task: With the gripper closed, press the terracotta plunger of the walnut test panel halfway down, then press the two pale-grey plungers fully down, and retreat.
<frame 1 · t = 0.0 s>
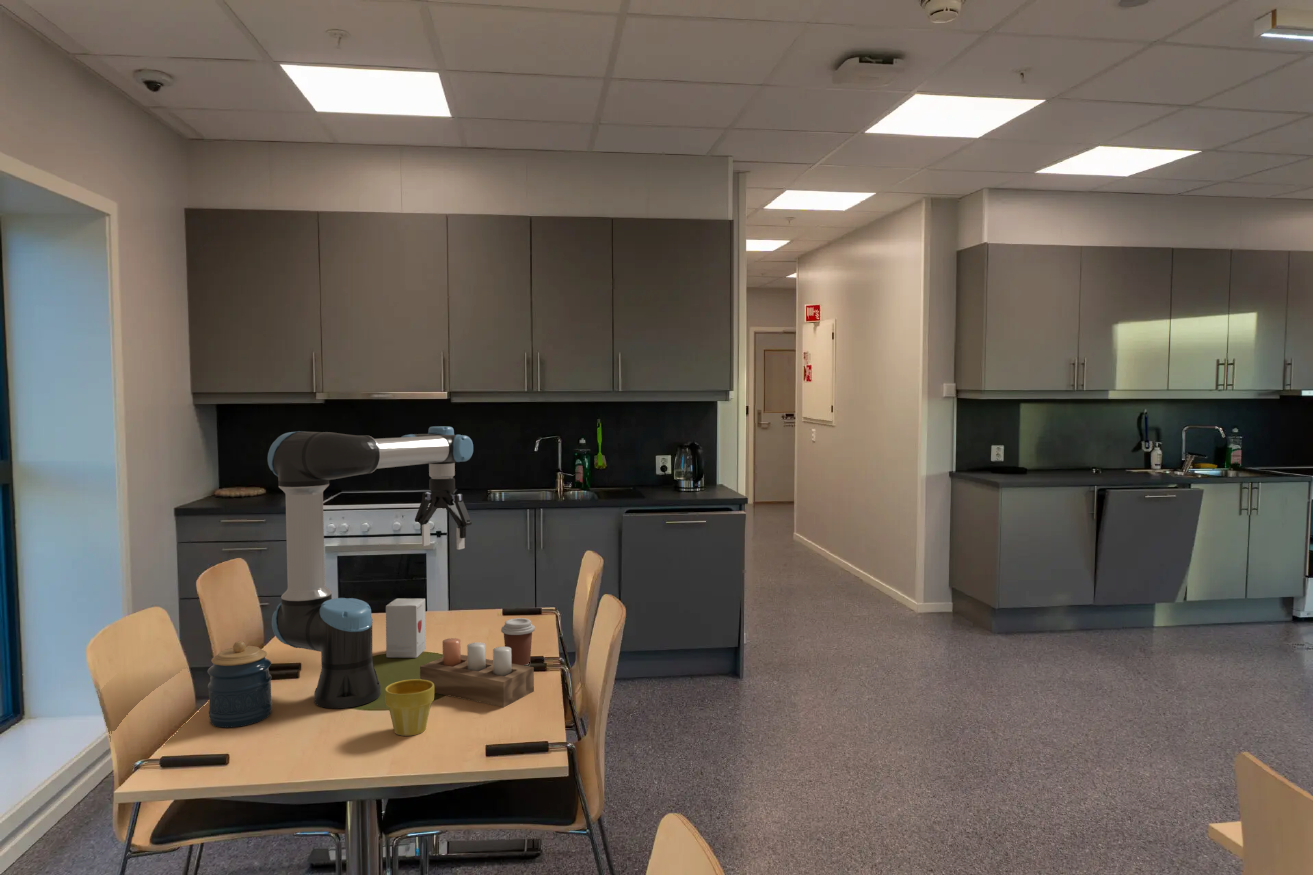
hand: (443, 547, 248), 28 cm above the table, fingers open, 13 cm apart
coffee cup: (518, 665, 224), on the table
plant pot: (410, 730, 179), on the table
supplement box: (406, 653, 234), on the table
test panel: (476, 690, 204), on the table
canister: (241, 718, 187), on the table
grey plug mid: (476, 658, 203), point 8 cm above the table, slide at 0.0 cm
grey plug far: (502, 663, 200), point 8 cm above the table, slide at 0.0 cm
terracotta plug: (451, 654, 207), point 8 cm above the table, slide at 0.0 cm
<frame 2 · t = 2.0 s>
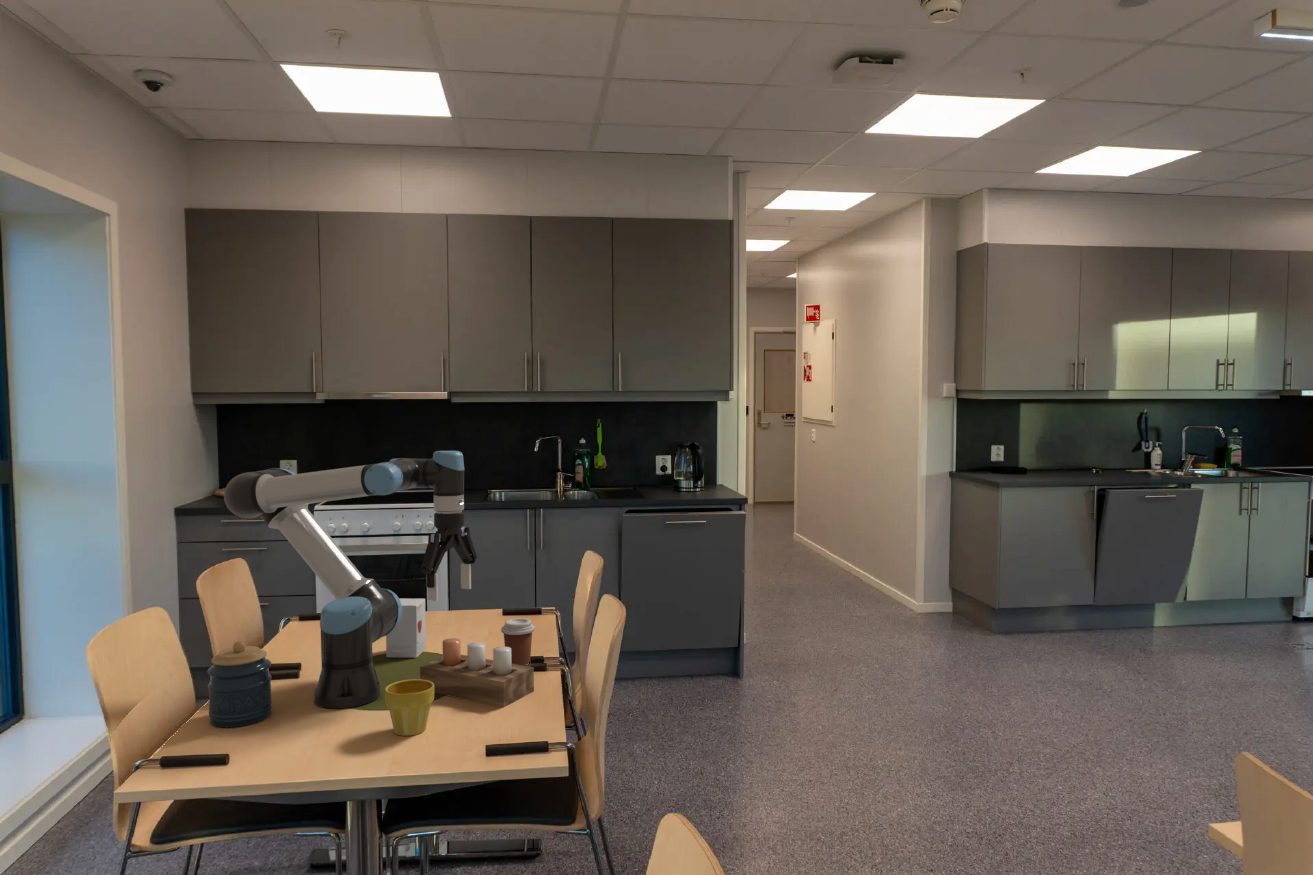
hand: (450, 594, 209), 23 cm above the table, fingers open, 13 cm apart
nothing on the table moved.
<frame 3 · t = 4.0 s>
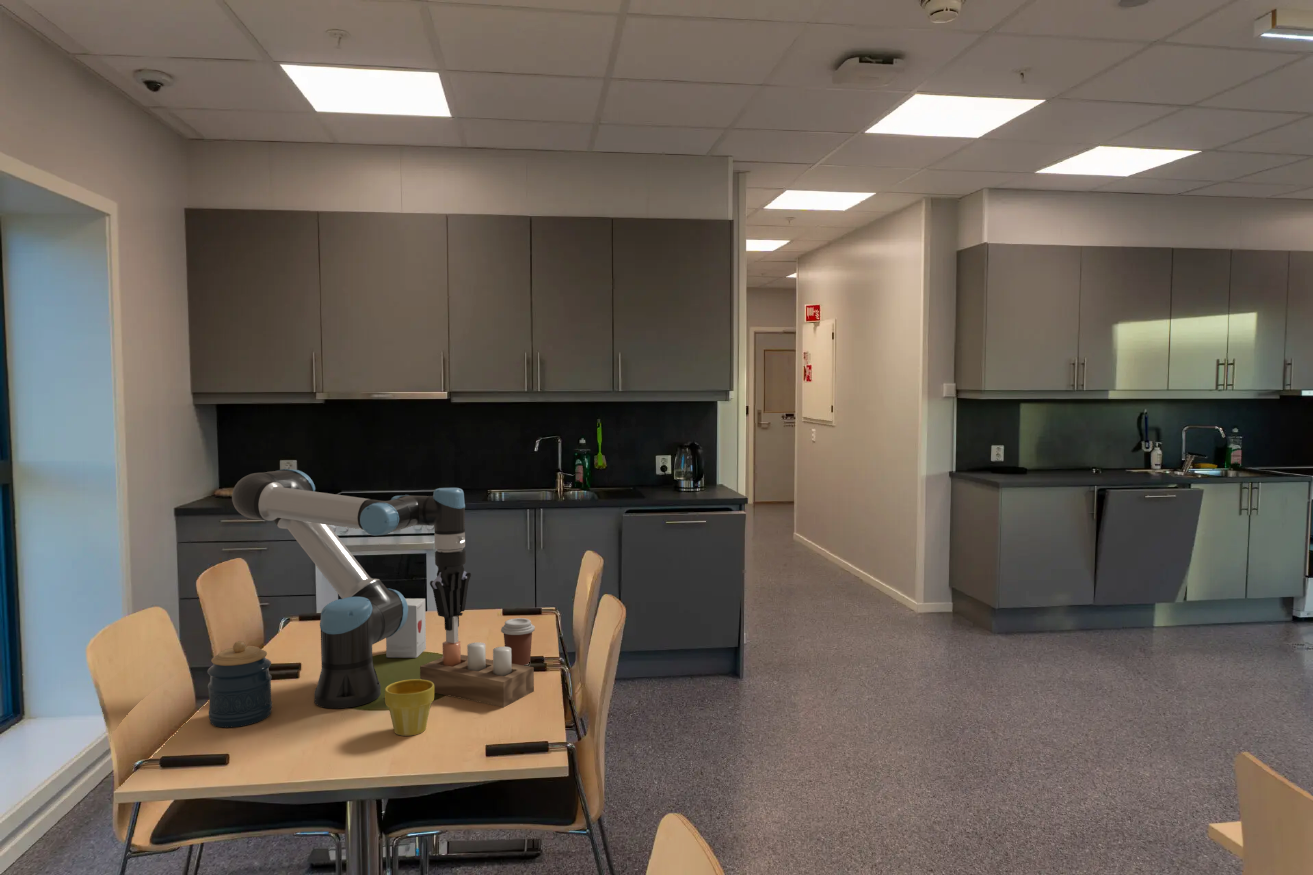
hand: (452, 641, 207), 11 cm above the table, fingers closed
terracotta plug: (451, 656, 207), point 7 cm above the table, slide at 0.5 cm, touching gripper
everything else where it was.
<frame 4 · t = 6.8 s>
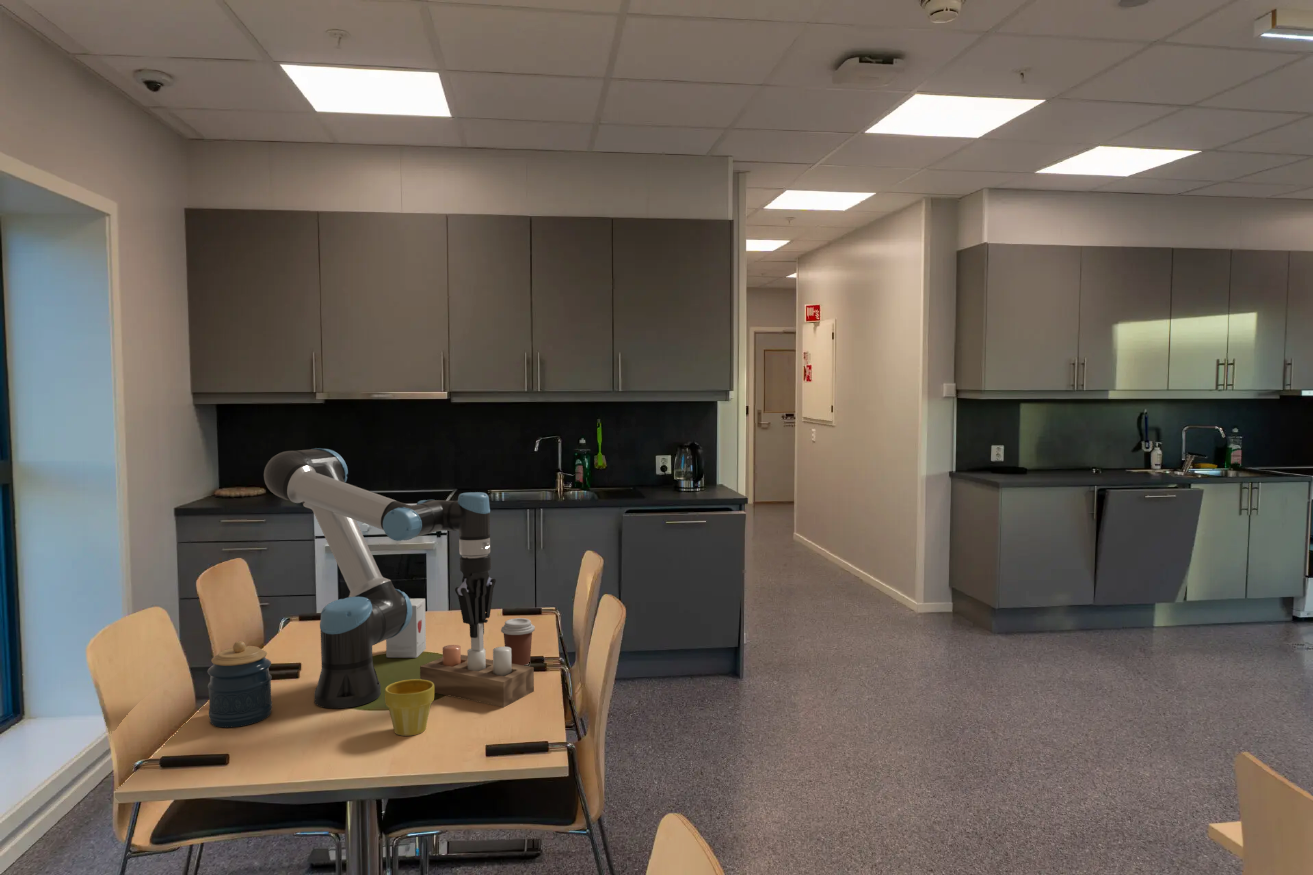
hand: (477, 649, 203), 10 cm above the table, fingers closed
grey plug mid: (476, 663, 203), point 7 cm above the table, slide at 1.3 cm, touching gripper
terracotta plug: (451, 660, 207), point 6 cm above the table, slide at 1.7 cm
everything else where it was.
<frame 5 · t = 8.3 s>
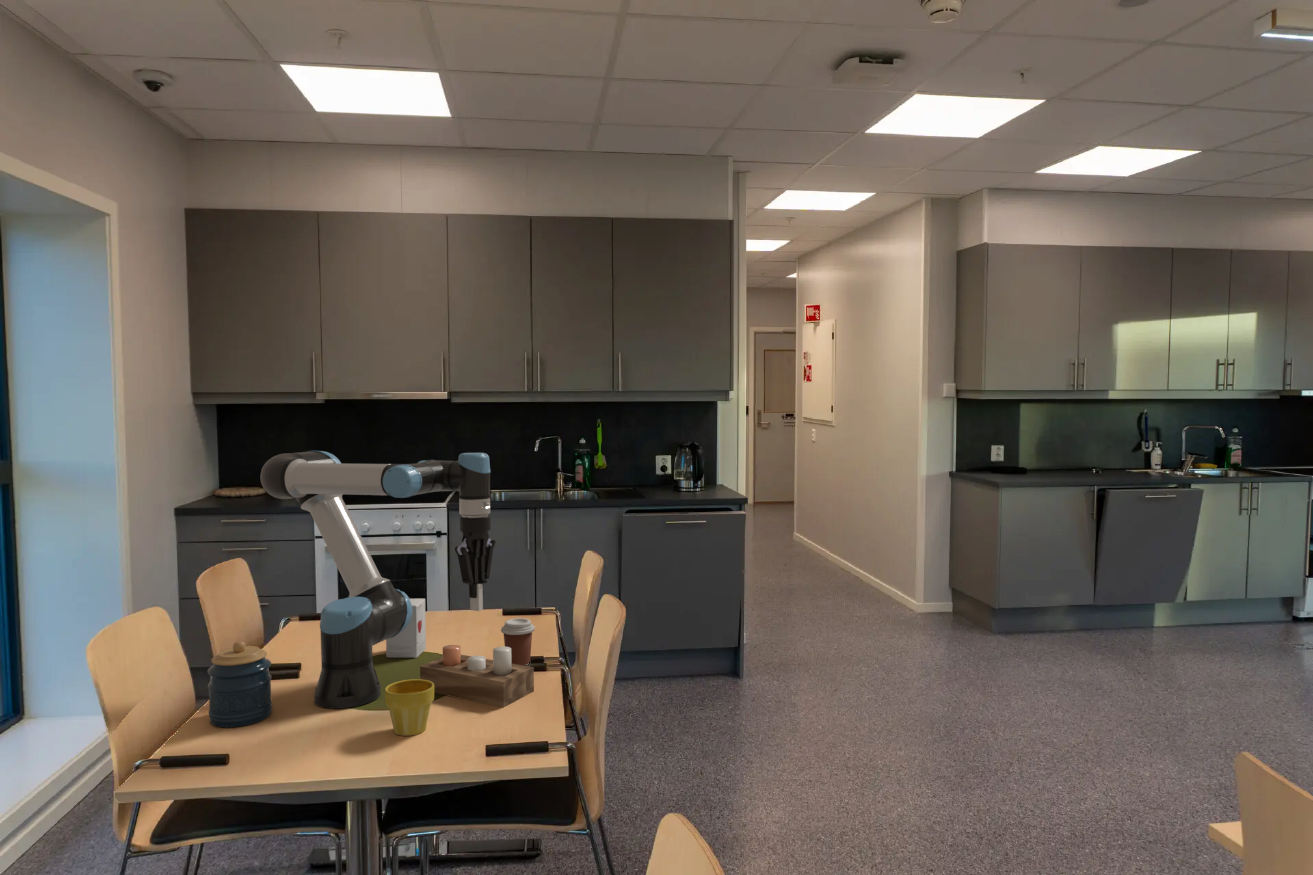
hand: (476, 609, 203), 20 cm above the table, fingers closed
grey plug mid: (476, 672, 203), point 5 cm above the table, slide at 3.4 cm
everything else where it was.
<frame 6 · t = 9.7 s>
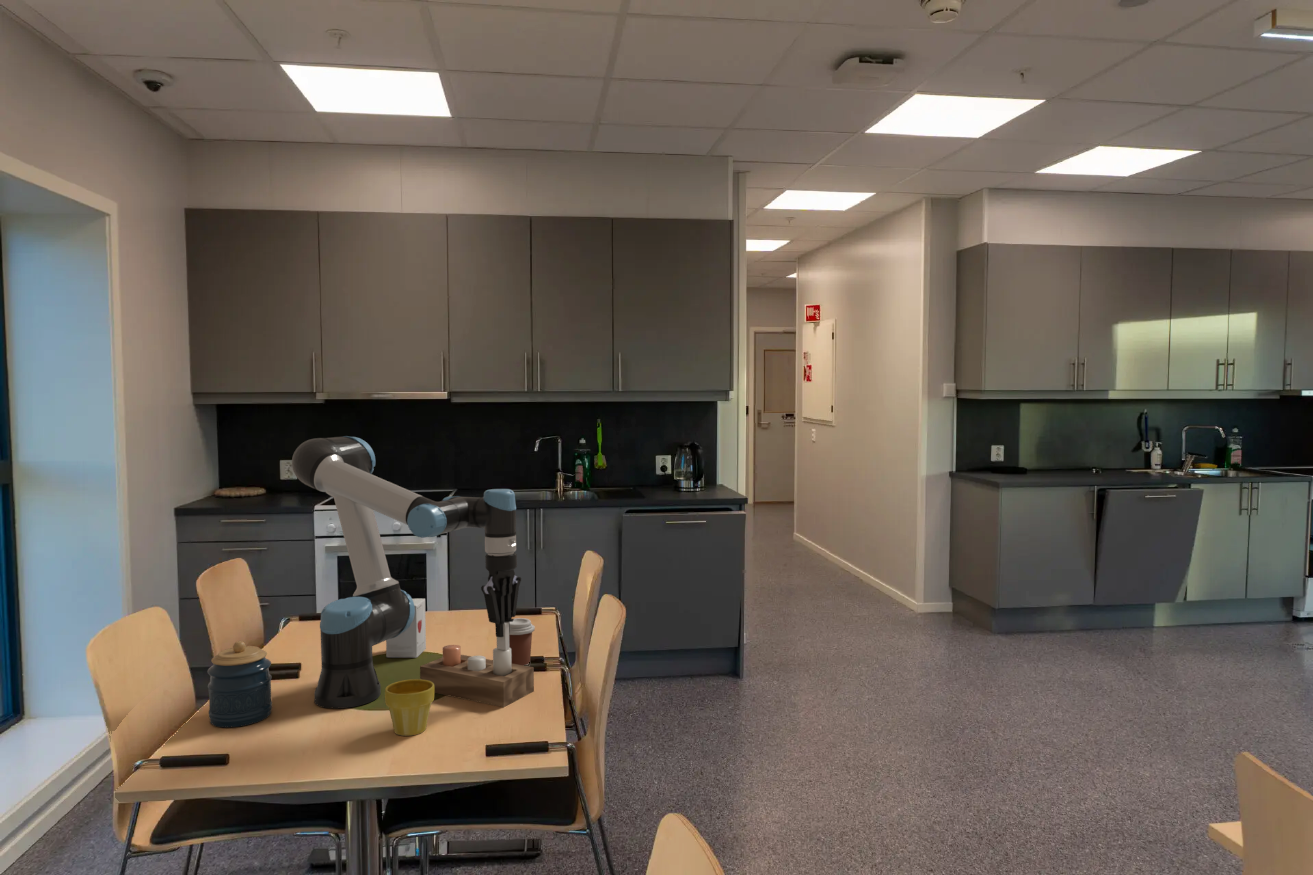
hand: (503, 648, 199), 12 cm above the table, fingers closed
grey plug far: (502, 663, 200), point 8 cm above the table, slide at 0.1 cm, touching gripper
everything else where it was.
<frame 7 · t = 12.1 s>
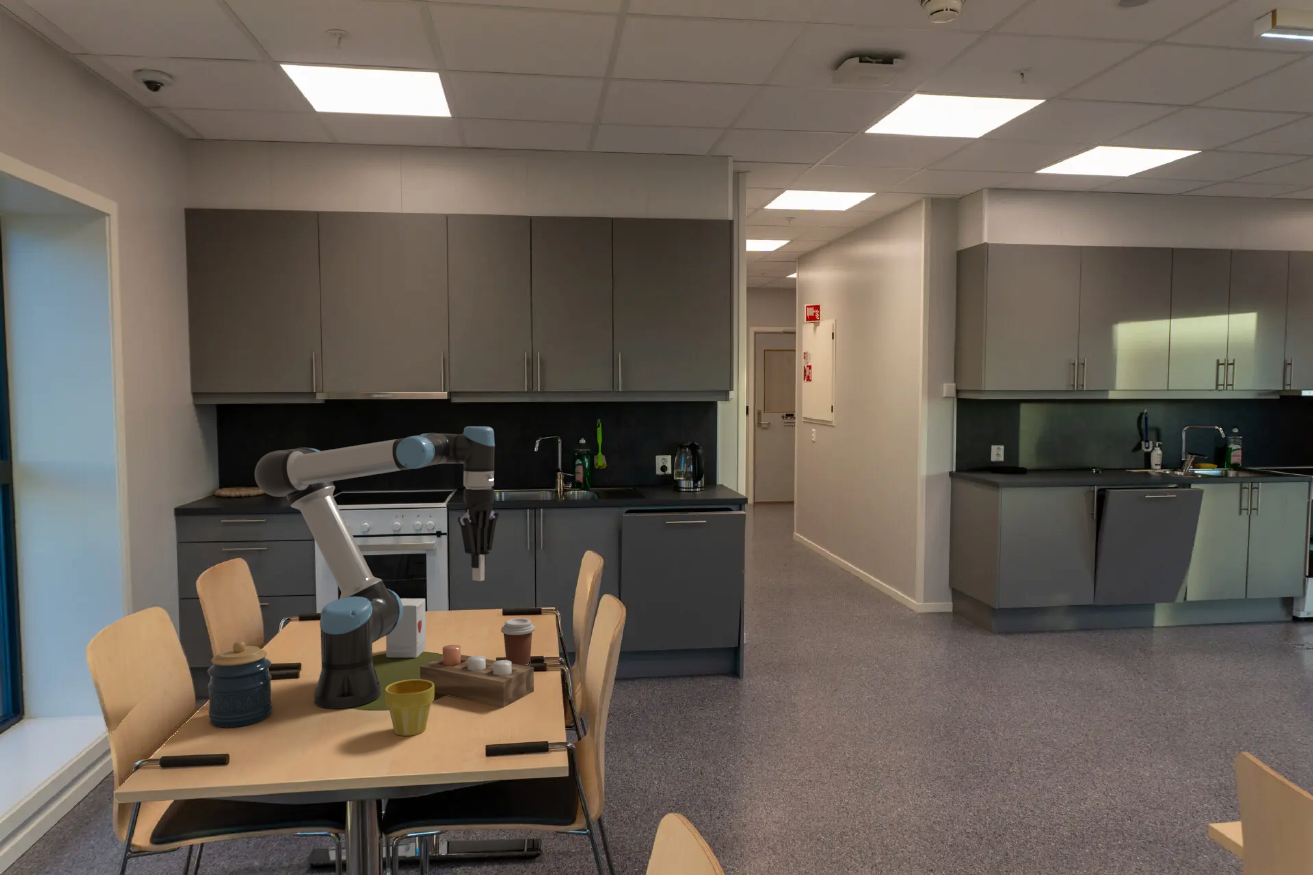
hand: (478, 579, 207), 27 cm above the table, fingers closed
grey plug far: (502, 676, 200), point 5 cm above the table, slide at 3.4 cm
everything else where it was.
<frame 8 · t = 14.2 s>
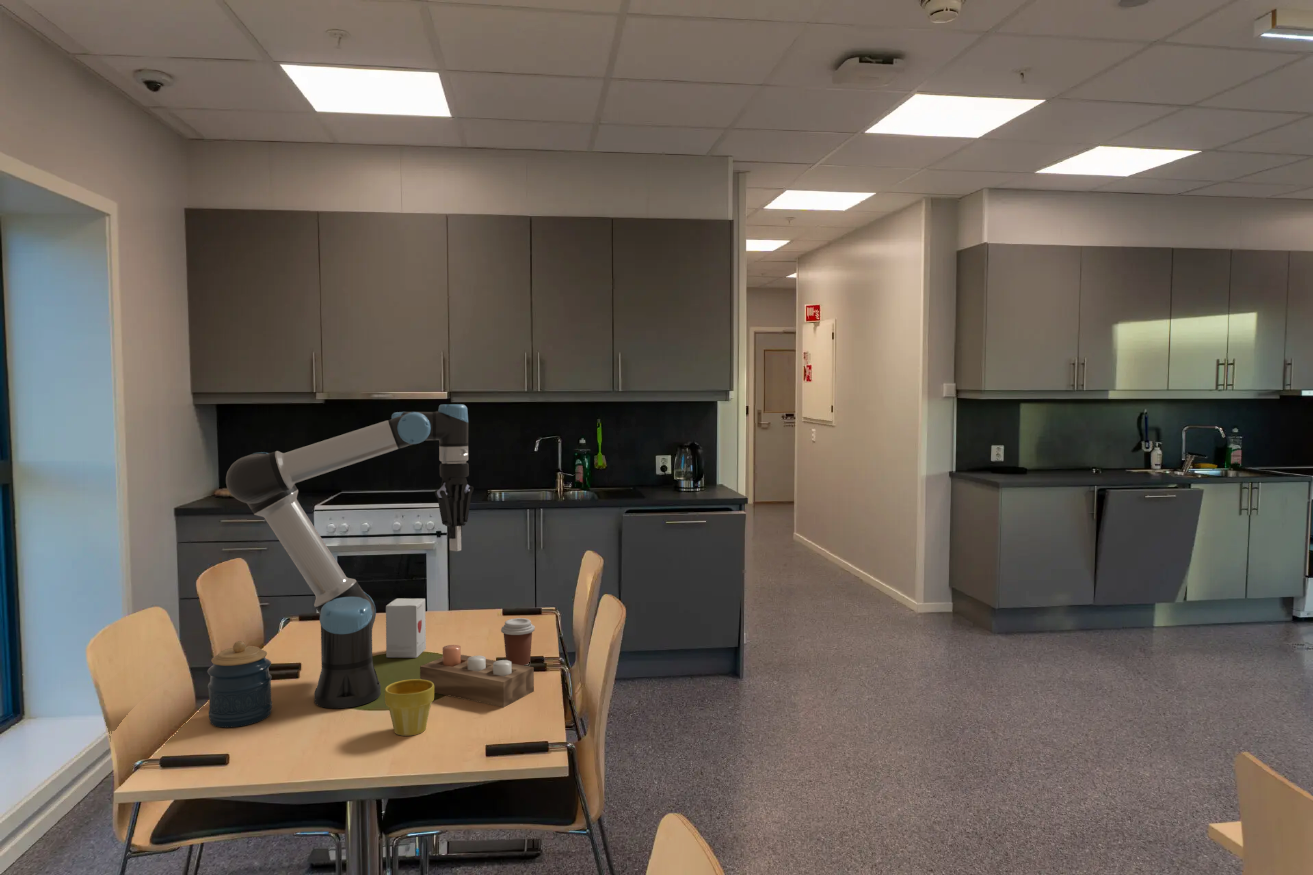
hand: (455, 550, 218), 32 cm above the table, fingers closed
nothing on the table moved.
at the end: grey plug mid slide at 3.4 cm; grey plug far slide at 3.4 cm; terracotta plug slide at 1.7 cm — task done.
